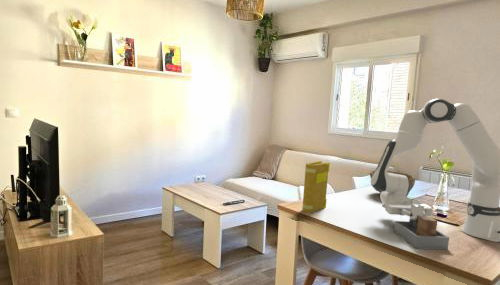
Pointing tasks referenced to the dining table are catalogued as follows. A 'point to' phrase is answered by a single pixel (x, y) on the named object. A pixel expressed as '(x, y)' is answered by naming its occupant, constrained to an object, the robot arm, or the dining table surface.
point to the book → (315, 186)
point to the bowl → (410, 177)
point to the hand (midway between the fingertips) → (417, 215)
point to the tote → (420, 237)
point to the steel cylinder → (415, 215)
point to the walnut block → (426, 226)
